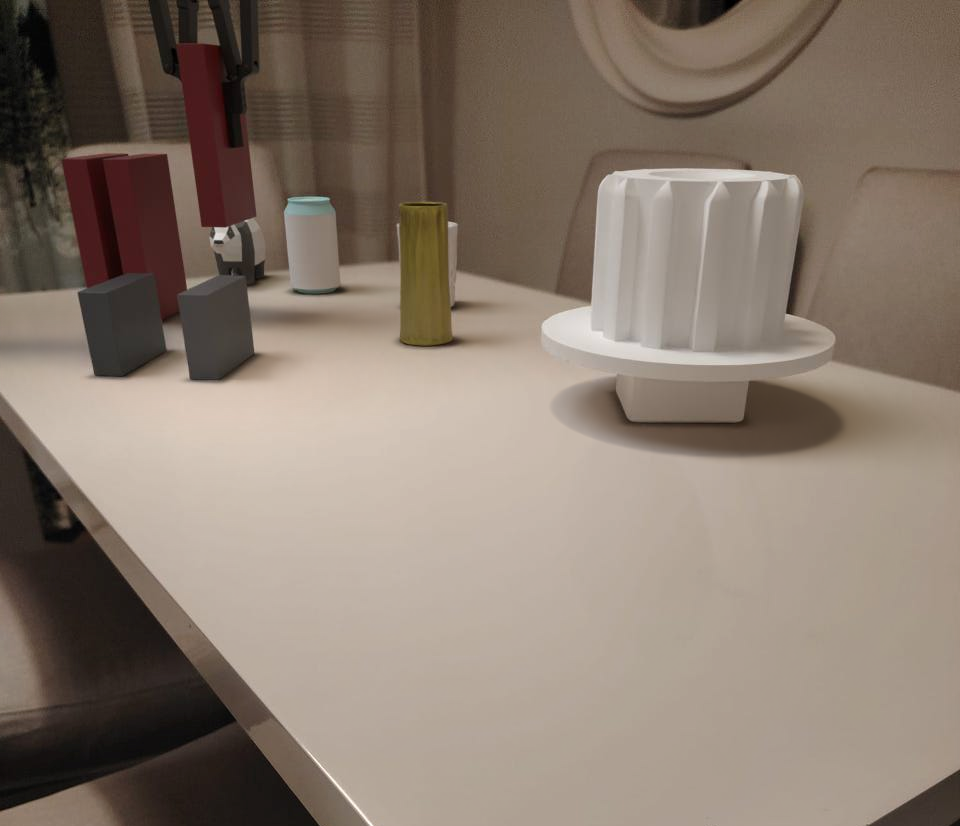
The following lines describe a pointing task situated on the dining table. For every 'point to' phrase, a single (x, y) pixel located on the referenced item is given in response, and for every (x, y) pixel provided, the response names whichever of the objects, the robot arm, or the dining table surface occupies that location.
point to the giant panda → (239, 250)
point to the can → (312, 245)
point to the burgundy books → (127, 220)
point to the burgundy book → (214, 140)
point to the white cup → (451, 256)
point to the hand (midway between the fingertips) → (221, 146)
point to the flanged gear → (692, 292)
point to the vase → (424, 274)
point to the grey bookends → (139, 331)
